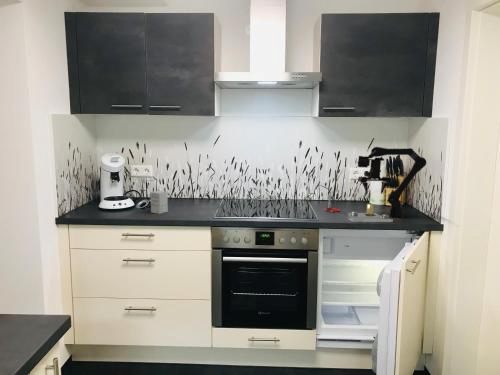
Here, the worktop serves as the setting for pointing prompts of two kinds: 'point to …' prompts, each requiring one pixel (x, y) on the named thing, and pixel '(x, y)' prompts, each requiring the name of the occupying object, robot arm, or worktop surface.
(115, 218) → the worktop surface
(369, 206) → the brass pin
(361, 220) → the plate with square hole
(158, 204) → the supplement box
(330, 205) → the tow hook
